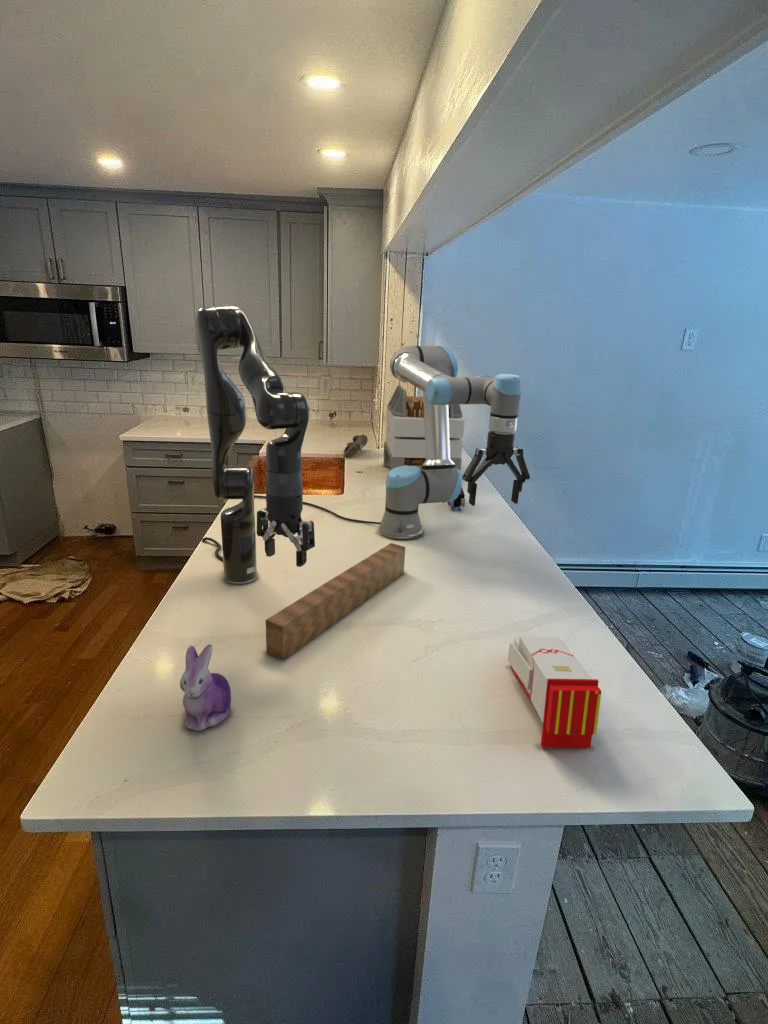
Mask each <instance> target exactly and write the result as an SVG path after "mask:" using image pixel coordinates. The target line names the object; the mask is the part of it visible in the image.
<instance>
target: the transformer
mask: <svg viewBox="0 0 768 1024" xmlns="http://www.w3.org/2000/svg"><path fill="white" fill-rule="evenodd" d="M407 394H408V393H407V390H406V389H404V388H403V387H402V385H399V384H398V385H397V386H396V388H395V390H394V392H393V394H392V395H391V398H390V400H389V402H388V404H387V405H386V413H385V414H386V415H385V423H386V428H385V438H384V442H383V466H384V467H388V468H389V471H390V470H391V469H393V468H396V467H400V466H416V467H422V464H423V463H424V462H425V461H426V448H425V425H424V401H423V396H415V395H414V396H413V395H412V396H411V395H407ZM448 411H449V437H450V459H451V460H452V461H453V462H454V463H455V468H456V469H458V470H459V471H460V472H462V461H463V460H462V453H463V442H464V441H463V440H462V439H463V438H464V431H465V430H464V429H465V419H464V418H463V411H462V408H461V404H456V405H448Z"/></svg>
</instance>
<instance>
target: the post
mask: <svg viewBox="0 0 768 1024" xmlns="http://www.w3.org/2000/svg"><path fill="white" fill-rule="evenodd" d="M405 559H406V546H404V545H400V544H396V543H394V542H390V543H388V544H387V545H385V546H384V547H382V548H381V549H379V550H377V551H376V552H374V553H372V554H370V555H369V556H367V557H365V558H364V559H362V560H361V561H359V562H358V563H356V564H354V565H353V566H351V567H349V568H348V569H346V570H344V571H342V572H341V573H339V575H337V576H335V577H333V578H332V579H330V580H328V581H326V582H325V583H324V584H322V585H320V586H319V587H317V588H315V589H313V590H311V591H310V592H309V593H307V594H305V595H304V596H302V597H300V598H299V599H297V600H296V601H294V602H292V603H291V604H289V605H288V606H285V607H284V608H283V609H281V610H279V611H278V612H276V613H274V614H273V615H271V616H270V617H268V618H266V619H265V641H266V642H265V643H266V645H265V646H266V653H267V654H269V655H272V656H274V657H277V658H279V659H281V660H285V659H286V658H288V657H289V656H291V655H292V654H293V653H295V652H296V651H298V650H299V649H300V648H302V647H303V646H304V645H306V644H308V642H310V641H311V640H313V639H314V638H315V637H317V636H318V635H320V634H321V633H323V632H324V631H325V630H327V629H328V628H329V627H331V626H332V625H333V624H335V623H336V622H338V621H339V620H340V619H342V618H343V617H345V616H346V615H348V613H350V612H351V611H353V610H355V609H356V608H357V607H358V606H360V605H361V604H362V603H364V602H365V601H366V600H368V599H369V598H371V597H372V596H374V595H375V594H377V593H378V592H379V591H381V590H382V589H383V588H384V587H386V586H387V585H389V584H390V583H392V582H393V581H394V580H396V579H397V578H398V577H400V576H401V575H402V574H404V573H405V562H406V561H405Z"/></svg>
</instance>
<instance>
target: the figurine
mask: <svg viewBox="0 0 768 1024" xmlns="http://www.w3.org/2000/svg"><path fill="white" fill-rule="evenodd" d="M213 649H214V648H213V645H212V644H211V643H208V644H206V646H204V648H203V649H202V651H201V652H200V653H199V655H198V651H197V650H196V647H195V646H194V645H190V646H188V647H187V648H186V652H185V659H184V660H185V669H184V672H183V673H182V675H181V678H180V681H179V687H180V690H181V691H182V692H183V693H184V694H183V697H182V705H183V708H184V711H185V714H186V718H185V722H184V723H185V727H186V728H187V729H189V730H194V731H198V732H199V731H204V730H205V729H207V728H213V727H215V726H217V725H219V724H220V723H221V722H222V721H224V720H225V719H227V717H229V715H230V712H231V705H232V689H231V686H230V683H229V681H228V679H227V678H226V677H225V676H224V675H222V674H221V673H219V672H218V673H217V672H212V673H211V671H210V669H209V665H210V662H211V658H212V654H213Z"/></svg>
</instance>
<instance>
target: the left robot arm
mask: <svg viewBox="0 0 768 1024" xmlns="http://www.w3.org/2000/svg"><path fill="white" fill-rule="evenodd" d="M195 322H196V323H195V327H196V335H197V340H198V346H199V352H200V353H199V354H200V357H201V363H202V368H203V369H202V370H203V377H204V388H205V389H204V390H205V391H204V392H205V404H206V405H205V408H206V415H207V416H206V417H207V425H208V431H209V432H208V433H209V438H210V446H211V447H210V449H211V474H212V489H213V494H214V495H215V497H216V498H217V499H219V500H241V501H240V502H239V503H237V504H235V505H232V506H230V507H227V508H225V509H224V510H222V511H221V513H220V530H221V531H220V534H221V544H220V543H219V542H218V541H217V540H215V539H213V538H212V537H209V536H207V537H206V536H205V537H203V538H202V539H201V541H202V542H206V541H209V542H212V543H214V544H215V545H216V546H217V548H216V549H215V551H214V554H215V556H216V557H217V558H218V559H219V560H221V561H222V565H223V580H224V581H225V582H226V583H228V584H231V585H245V584H251V583H252V582H254V581H256V580H257V579H258V563H257V537H256V536H258V537H261V538H262V540H263V541H264V552H265V556H266V557H269V558H271V557H273V556H275V554H276V539H275V538H274V537H276V535H277V536H283V537H284V538H288V540H289V542H290V543H291V544H293V545H294V547H295V549H296V551H295V567H298V568H301V567H303V566H305V564H306V563H307V561H308V558H307V557H308V555H307V554H308V553H307V551H309V550H311V549H314V548H315V547H316V539H315V538H316V537H315V523H314V521H313V520H308V521H305V520H303V519H302V511H303V507H304V506H303V505H304V504H303V502H304V497H303V496H304V495H303V492H304V491H303V490H304V489H303V475H302V474H303V473H302V448H303V444H304V440H305V435H306V431H307V428H308V425H309V422H310V414H311V409H310V404H309V401H308V399H307V397H306V396H305V395H304V394H303V393H301V392H299V391H291V392H289V391H288V392H284V391H285V384H284V381H283V379H282V378H281V376H280V375H279V373H278V372H277V371H276V369H275V368H274V366H273V365H272V364H271V362H270V361H269V359H268V358H267V356H266V354H265V352H264V350H263V348H262V345H261V343H260V340H259V338H258V336H257V334H256V332H255V330H254V328H253V325H252V324H251V321H250V319H249V317H248V315H247V314H246V313H245V311H244V310H243V309H242V308H241V307H240V306H237V305H223V306H211V307H210V306H209V307H201V308H200V309H198V310H197V313H196V316H195ZM237 348H242V349H243V351H242V354H241V356H240V359H239V362H238V374H239V377H240V380H241V382H242V383H243V385H244V387H245V388H246V389H247V391H248V393H249V394H250V395H251V399H252V402H253V405H254V410H255V417H256V421H257V423H259V425H260V426H261V427H263V428H264V429H267V430H271V431H273V430H274V431H275V430H283V429H285V430H284V432H283V434H282V435H281V436H279V437H276V438H274V439H272V440H270V441H268V442H267V443H266V446H265V461H266V462H265V463H266V473H265V496H266V498H265V504H266V505H265V506H266V507H265V508H262V509H259V510H257V511H256V514H255V497H254V495H255V486H256V485H255V484H256V483H255V472H254V469H253V467H252V466H251V465H249V464H240V465H239V464H225V463H226V460H227V457H228V455H229V454H230V451H231V449H232V448H233V446H234V445H235V444H236V442H237V441H238V440H239V439H240V437H241V435H242V433H243V432H244V430H245V428H246V424H247V417H246V416H247V415H246V414H247V413H246V402H245V398H244V395H243V394H242V392H241V391H240V389H239V388H238V387H237V385H236V384H235V383H234V382H233V380H231V378H230V377H229V376H228V374H227V373H226V372H225V370H224V368H223V366H222V365H221V363H220V360H219V353H218V352H219V351H222V350H229V349H230V350H231V349H237ZM269 523H270V524H269ZM268 524H269V525H268ZM295 535H297V536H295ZM221 549H222V556H221V555H220V553H219V551H220V550H221Z"/></svg>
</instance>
